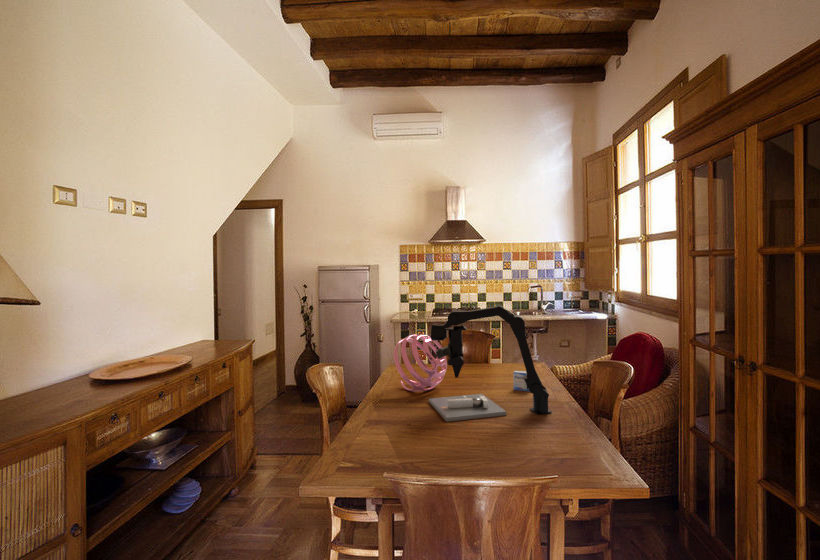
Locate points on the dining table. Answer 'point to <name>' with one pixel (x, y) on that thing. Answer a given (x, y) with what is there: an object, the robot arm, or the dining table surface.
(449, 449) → the dining table surface
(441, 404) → the latch plate
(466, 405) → the latch key
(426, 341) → the pink spiral sphere sculpture
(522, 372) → the medicine box
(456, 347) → the robot arm
